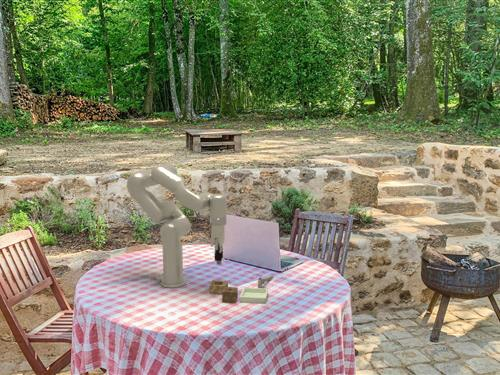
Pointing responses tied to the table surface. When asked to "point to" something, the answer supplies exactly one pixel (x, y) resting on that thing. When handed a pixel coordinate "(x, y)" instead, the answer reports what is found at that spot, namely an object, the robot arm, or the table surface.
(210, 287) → the brown hex nut
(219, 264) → the pin
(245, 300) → the tray
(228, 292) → the block
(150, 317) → the table surface
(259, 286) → the caliper
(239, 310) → the table surface
